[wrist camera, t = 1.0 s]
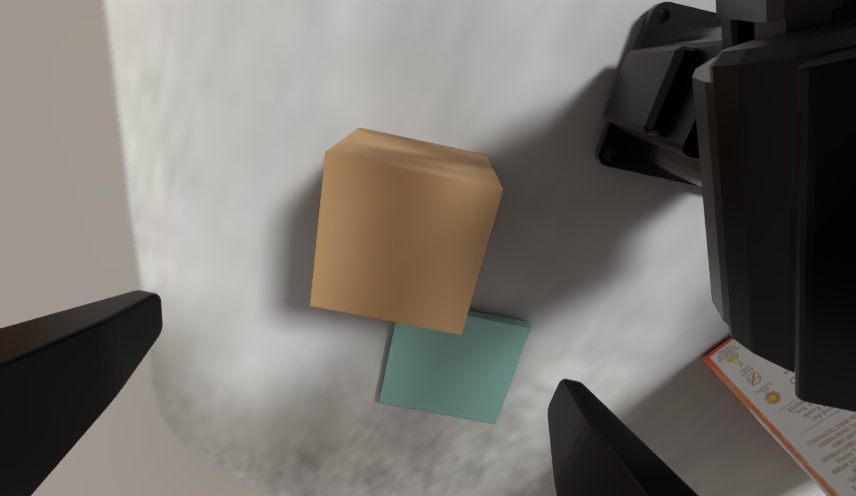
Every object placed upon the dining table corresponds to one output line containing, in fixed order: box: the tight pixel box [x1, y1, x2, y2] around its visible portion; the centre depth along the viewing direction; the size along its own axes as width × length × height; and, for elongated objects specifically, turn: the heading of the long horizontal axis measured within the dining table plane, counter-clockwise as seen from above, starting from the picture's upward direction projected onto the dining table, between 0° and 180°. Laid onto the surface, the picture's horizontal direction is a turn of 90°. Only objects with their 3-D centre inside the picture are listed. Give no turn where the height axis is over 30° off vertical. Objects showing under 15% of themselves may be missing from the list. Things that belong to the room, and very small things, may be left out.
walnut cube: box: [310, 128, 503, 335], centre depth 17 cm, size 6×6×6 cm
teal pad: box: [379, 310, 530, 424], centre depth 24 cm, size 7×7×1 cm
